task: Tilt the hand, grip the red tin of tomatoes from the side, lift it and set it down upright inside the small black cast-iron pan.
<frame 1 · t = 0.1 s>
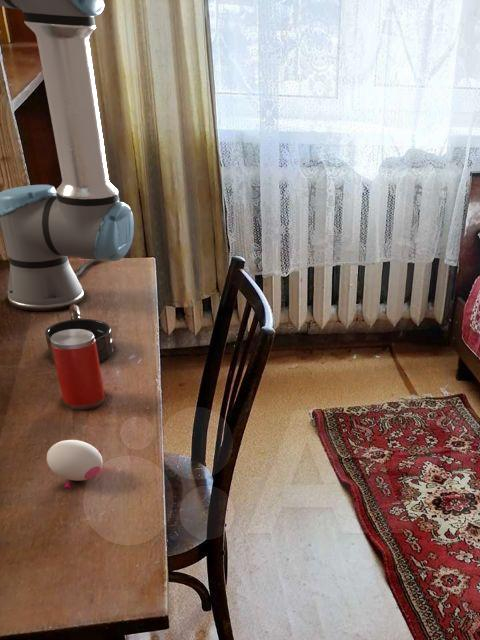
tomato can: (84, 400, 111), on the table
skillet handle: (75, 315, 131), point 3 cm above the table
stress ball: (81, 475, 94), on the table
skillet: (82, 352, 126), on the table
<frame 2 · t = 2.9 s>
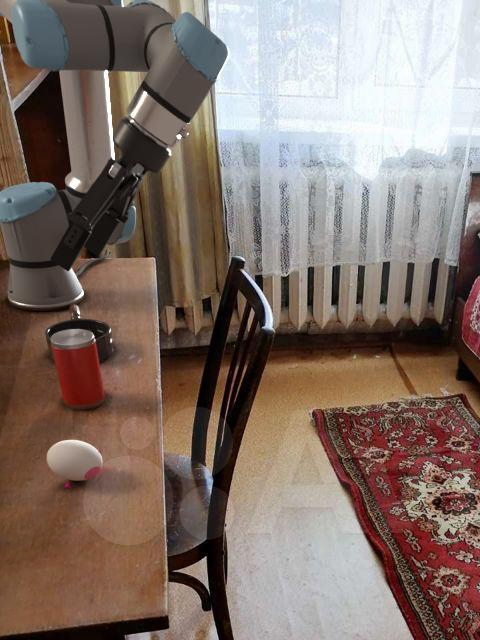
hand: (76, 257, 99), 24 cm above the table, tool tilted 35°, fingers open, 13 cm apart
nothing on the table moved.
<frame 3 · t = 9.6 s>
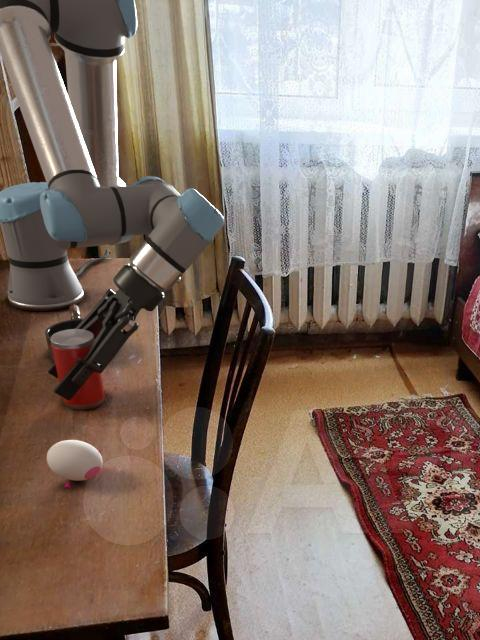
hand: (58, 385, 108), 3 cm above the table, tool tilted 45°, fingers closed on tomato can, 7 cm apart
tomato can: (84, 400, 111), on the table, touching gripper
everything else where it was.
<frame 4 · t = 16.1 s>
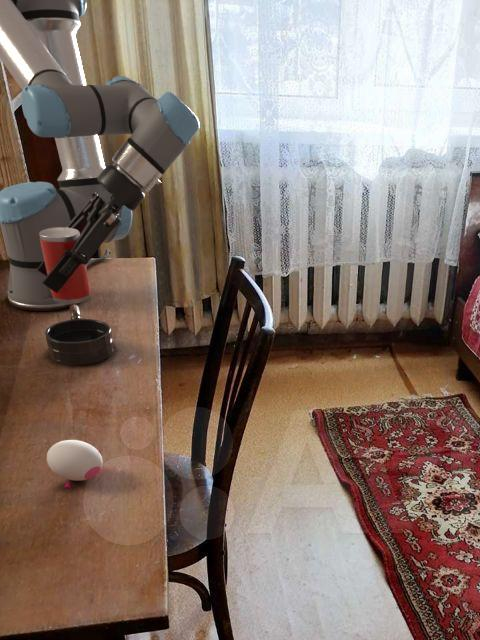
hand: (47, 280, 116), 14 cm above the table, tool tilted 45°, fingers closed on tomato can, 7 cm apart
tomato can: (72, 297, 120), point 11 cm above the table, touching gripper
everything else where it was.
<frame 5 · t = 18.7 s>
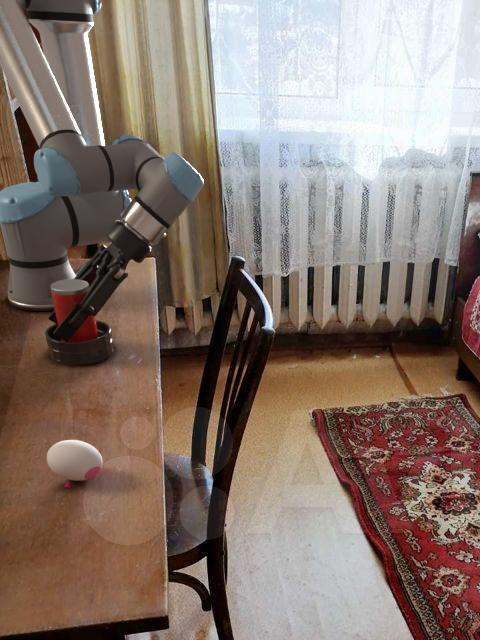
hand: (57, 329, 122), 5 cm above the table, tool tilted 45°, fingers closed on tomato can, 7 cm apart
tomato can: (81, 344, 125), point 2 cm above the table, touching gripper
everything else where it was.
when the fingers open (6 cm above the table, at t = 22.8 s): tomato can drops 2 cm, resting on skillet.
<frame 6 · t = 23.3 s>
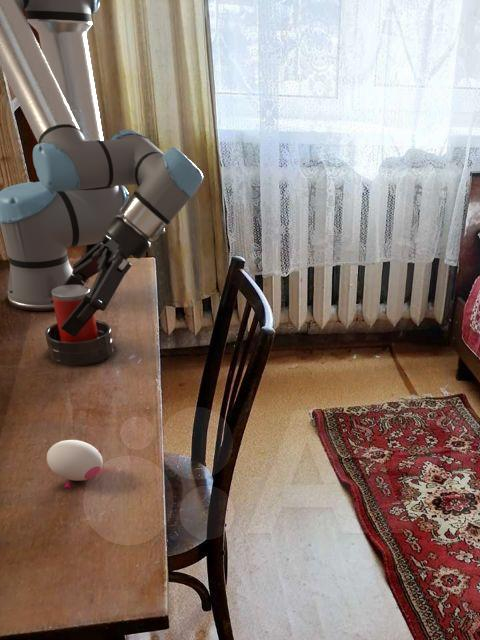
hand: (61, 318, 121), 7 cm above the table, tool tilted 45°, fingers open, 13 cm apart
tomato can: (81, 349, 126), point 1 cm above the table, touching skillet
everything else where it was.
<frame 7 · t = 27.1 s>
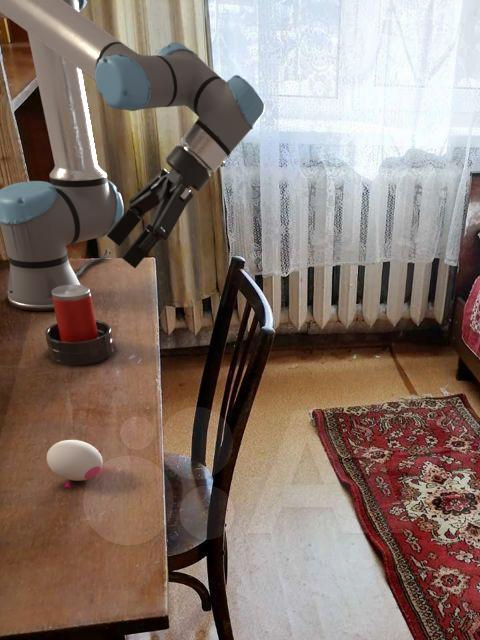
hand: (120, 251, 120), 18 cm above the table, tool tilted 45°, fingers open, 13 cm apart
nothing on the table moved.
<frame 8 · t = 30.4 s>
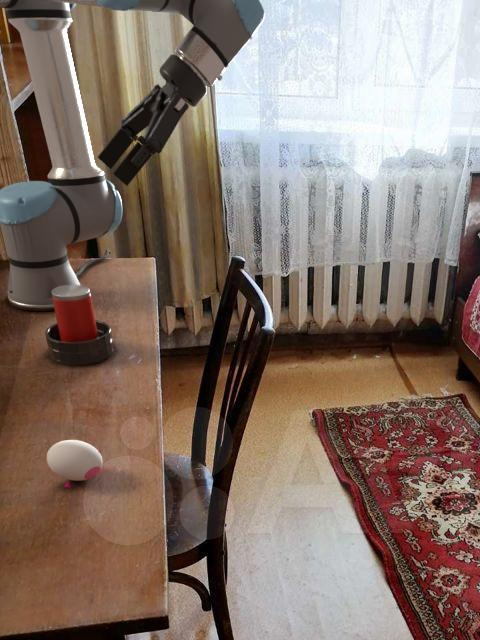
hand: (111, 171, 113), 32 cm above the table, tool tilted 45°, fingers open, 13 cm apart
nothing on the table moved.
at the end: tomato can 0.2 cm off-centre in the skillet, point 0.6 cm above the skillet's base; tomato can tilted 0°; the gripper is holding nothing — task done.
